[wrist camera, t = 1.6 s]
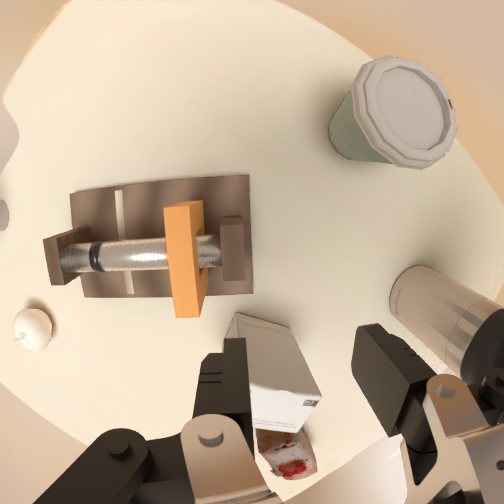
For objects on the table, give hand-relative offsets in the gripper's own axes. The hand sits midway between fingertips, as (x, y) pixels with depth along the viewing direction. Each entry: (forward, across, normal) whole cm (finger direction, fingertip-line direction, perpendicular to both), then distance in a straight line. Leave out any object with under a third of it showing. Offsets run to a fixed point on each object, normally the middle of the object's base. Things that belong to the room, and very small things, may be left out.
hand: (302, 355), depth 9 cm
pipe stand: (+25, +12, 0) cm, 28 cm away
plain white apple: (+25, +35, +12) cm, 45 cm away
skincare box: (+25, 0, +14) cm, 29 cm away
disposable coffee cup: (+25, -13, -13) cm, 31 cm away
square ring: (+22, +7, 0) cm, 23 cm away
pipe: (+19, +12, 0) cm, 22 cm away
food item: (+26, -4, +36) cm, 44 cm away
